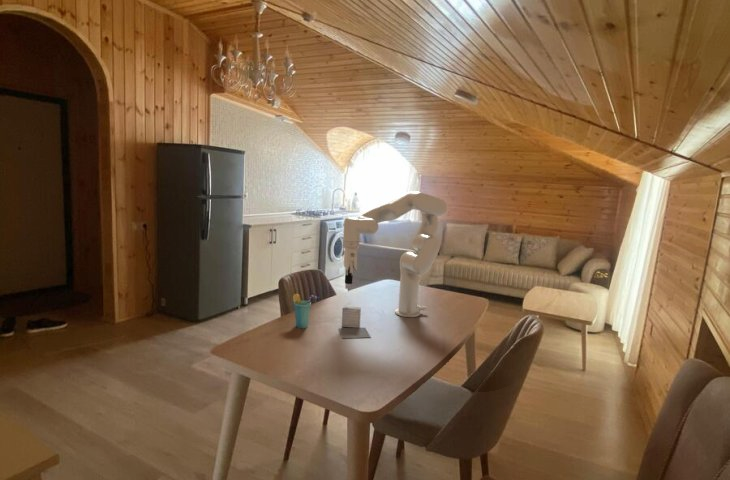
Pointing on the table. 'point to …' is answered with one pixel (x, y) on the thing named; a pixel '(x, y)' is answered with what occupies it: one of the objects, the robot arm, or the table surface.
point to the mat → (354, 333)
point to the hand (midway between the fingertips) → (348, 283)
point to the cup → (302, 310)
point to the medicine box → (351, 316)
